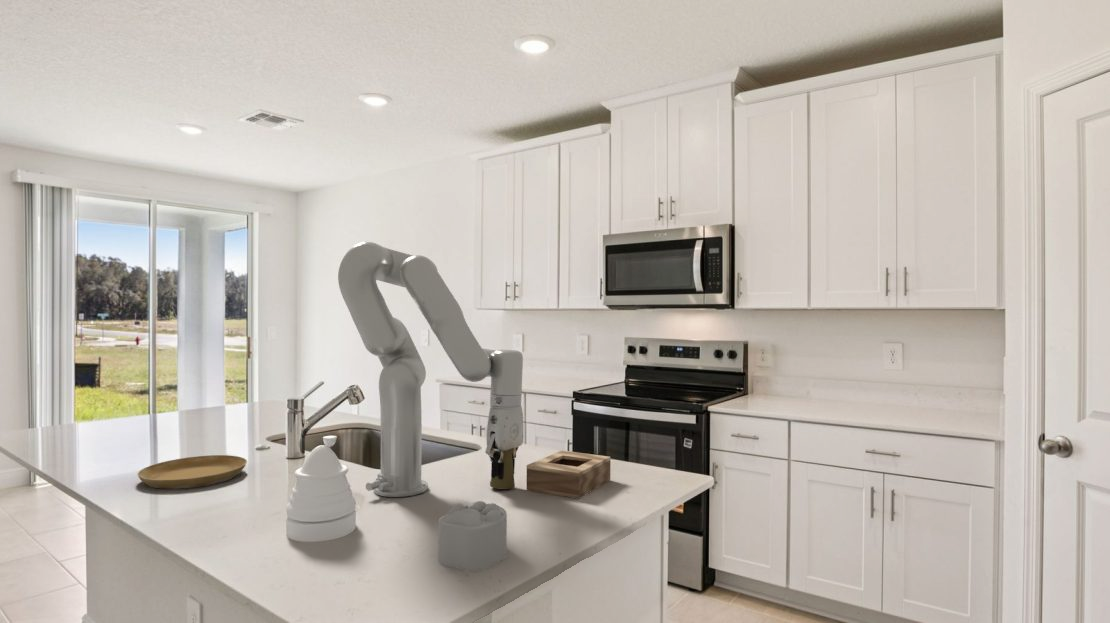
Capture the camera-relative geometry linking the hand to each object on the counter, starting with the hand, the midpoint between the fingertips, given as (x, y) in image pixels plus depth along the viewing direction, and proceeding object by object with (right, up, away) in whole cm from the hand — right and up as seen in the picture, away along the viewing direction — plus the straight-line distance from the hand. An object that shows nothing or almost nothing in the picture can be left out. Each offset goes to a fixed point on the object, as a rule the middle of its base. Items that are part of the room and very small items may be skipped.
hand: (502, 475), depth 154 cm
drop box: (+16, -3, +3) cm, 17 cm away
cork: (0, -2, 0) cm, 3 cm away
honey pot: (-33, -3, -29) cm, 44 cm away
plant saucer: (-79, -3, +8) cm, 80 cm away
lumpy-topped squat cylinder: (-1, -4, -41) cm, 41 cm away
